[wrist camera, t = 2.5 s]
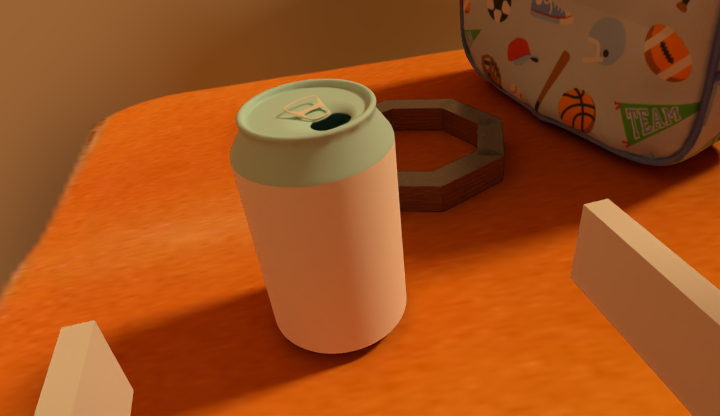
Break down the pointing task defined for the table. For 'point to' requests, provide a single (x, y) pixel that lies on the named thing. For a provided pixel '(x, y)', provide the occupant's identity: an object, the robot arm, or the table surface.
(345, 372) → the table surface
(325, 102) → the can
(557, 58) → the lunch box
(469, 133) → the ring
